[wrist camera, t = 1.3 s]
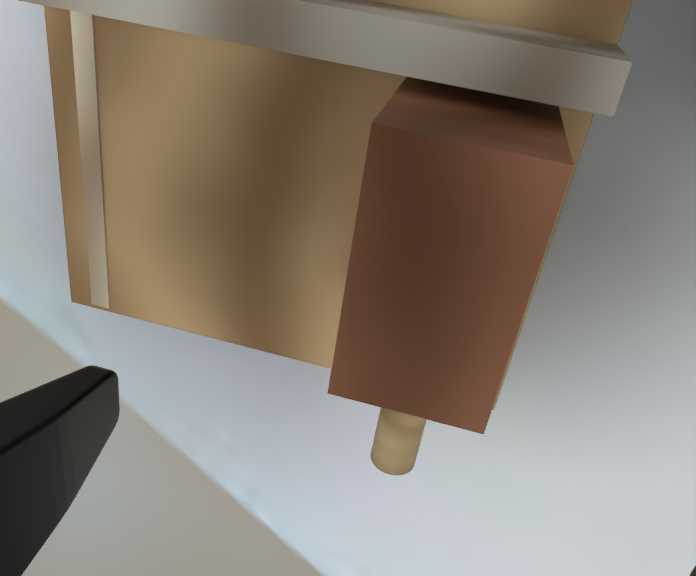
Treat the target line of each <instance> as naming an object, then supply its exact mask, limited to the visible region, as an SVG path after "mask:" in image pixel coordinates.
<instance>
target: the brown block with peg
mask: <svg viewBox="0 0 696 576" xmlns="http://www.w3.org/2000/svg"><path fill="white" fill-rule="evenodd" d="M573 166H574V164H573V160H572V156H571V152H570V148H569V144H568V140H567V137H566V133H565V129H564V125H563V121H562V117H561V113H560V109H559V106H555V105H550V104H545V103H540V102H535V101H530V100H524V99H519V98H514V97H509V96H504V95H499V94H494V93H489V92H484V91H479V90H473V89H468V88H463V87H458V86H453V85H448V84H443V83H438V82H433V81H428V80H422V79H417V78H412V77H406V78H405V80H404V81H403V82H402V84H401V85H400V86H399V88H398V89H397V90H396V92H395V93H394V94H393V96H392V97H391V98H390V99H389V101H388V102H387V103H386V105H385V106H384V107H383V109H382V110H381V111H380V113H379V114H378V115H377V117H376V118H375V119H374V121H373V122H372V123H371V129H370V135H369V141H368V148H367V154H366V160H365V166H364V172H363V178H362V185H361V191H360V197H359V203H358V209H357V216H356V222H355V228H354V234H353V240H352V246H351V253H350V259H349V265H348V271H347V277H346V284H345V290H344V296H343V302H342V308H341V314H340V321H339V327H338V333H337V339H336V345H335V352H334V358H333V364H332V370H331V376H330V382H329V389H328V393H329V394H332V395H336V396H340V397H344V398H348V399H351V400H355V401H359V402H363V403H367V404H371V405H374V406H378V407H381V410H380V414H379V419H378V423H377V428H376V432H375V437H374V442H373V446H372V451H371V460H372V462H373V464H374V465H375V466H376V467H377V468H378V469H379V470H381V471H382V472H384V473H387V474H390V475H403V474H406V473H408V472H409V471H411V470H412V468H413V467H414V463H415V460H416V456H417V452H418V449H419V445H420V441H421V438H422V434H423V430H424V426H425V423H426V419H428V420H432V421H435V422H439V423H443V424H447V425H451V426H454V427H458V428H462V429H466V430H470V431H473V432H477V433H481V434H484V431H485V428H486V425H487V422H488V419H489V416H490V413H491V410H492V407H493V404H494V401H495V399H496V396H497V393H498V390H499V387H500V384H501V381H502V378H503V375H504V372H505V369H506V366H507V363H508V360H509V357H510V354H511V351H512V348H513V345H514V342H515V339H516V336H517V333H518V330H519V327H520V324H521V321H522V318H523V315H524V312H525V309H526V306H527V303H528V300H529V297H530V294H531V291H532V288H533V285H534V282H535V279H536V276H537V274H538V271H539V268H540V265H541V262H542V259H543V256H544V253H545V250H546V247H547V244H548V241H549V238H550V235H551V232H552V229H553V226H554V223H555V220H556V217H557V214H558V211H559V208H560V205H561V202H562V199H563V196H564V193H565V190H566V187H567V184H568V181H569V178H570V175H571V172H572V169H573Z"/></svg>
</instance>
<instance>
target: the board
mask: <svg viewBox="0 0 696 576" xmlns="http://www.w3.org/2000/svg"><path fill="white" fill-rule="evenodd" d="M20 1H25V2H30V3H35V4H40V5H44V9H45V20H46V31H47V41H48V52H49V63H50V74H51V84H52V95H53V106H54V117H55V128H56V138H57V149H58V160H59V171H60V182H61V192H62V203H63V214H64V225H65V235H66V246H67V257H68V268H69V279H70V289H71V300H72V302H75V303H79V304H82V305H86V306H90V307H94V308H98V309H102V310H106V311H110V312H114V313H117V314H121V315H125V316H129V317H133V318H137V319H141V320H145V321H149V322H152V323H156V324H160V325H164V326H168V327H172V328H176V329H180V330H184V331H187V332H191V333H195V334H199V335H203V336H207V337H211V338H215V339H219V340H222V341H226V342H230V343H234V344H238V345H242V346H246V347H250V348H254V349H257V350H261V351H265V352H269V353H273V354H277V355H281V356H285V357H289V358H292V359H296V360H300V361H304V362H308V363H312V364H316V365H320V366H324V367H327V368H331V369H332V364H333V358H334V352H335V345H336V339H337V333H338V327H339V321H340V314H341V308H342V302H343V296H344V290H345V284H346V277H347V271H348V265H349V259H350V253H351V246H352V240H353V234H354V228H355V222H356V216H357V209H358V203H359V197H360V191H361V185H362V178H363V172H364V166H365V160H366V154H367V148H368V141H369V135H370V129H371V123H372V122H373V121H374V119H375V118H376V117H377V115H378V114H379V113H380V111H381V110H382V109H383V107H384V106H385V105H386V103H387V102H388V101H389V99H390V98H391V97H392V96H393V94H394V93H395V92H396V90H397V89H398V88H399V86H400V85H401V84H402V82H403V81H404V80H405V78H406V77H412V78H417V79H422V80H428V81H433V82H438V83H443V84H448V85H453V86H458V87H463V88H468V89H473V90H479V91H484V92H489V93H494V94H499V95H504V96H509V97H514V98H519V99H524V100H530V101H535V102H540V103H545V104H550V105H555V106H559V109H560V113H561V117H562V121H563V125H564V129H565V133H566V137H567V140H568V144H569V148H570V152H571V156H572V160H573V164H574V166H573V169H572V172H571V175H570V178H569V181H568V184H567V187H566V190H565V193H564V196H563V199H562V202H561V205H560V208H559V211H558V214H557V217H556V220H555V223H554V226H553V229H552V232H551V235H550V238H549V241H548V244H547V247H546V250H545V253H544V256H543V259H542V262H541V265H540V268H539V271H538V274H537V276H536V279H535V282H534V285H533V288H532V291H531V294H530V297H529V300H528V303H527V306H526V309H525V312H524V315H523V318H522V321H521V324H520V327H519V330H518V333H517V336H516V339H515V342H514V345H513V348H512V351H511V354H510V357H509V360H508V363H507V366H506V369H505V372H504V375H503V378H502V381H501V384H500V387H499V390H498V393H497V396H496V399H495V401H494V404H493V407H492V410H494V408H495V405H496V402H497V399H498V396H499V393H500V390H501V387H502V384H503V381H504V378H505V375H506V372H507V369H508V367H509V364H510V361H511V358H512V355H513V352H514V349H515V346H516V343H517V340H518V337H519V334H520V331H521V328H522V325H523V322H524V319H525V316H526V313H527V310H528V307H529V304H530V301H531V299H532V296H533V293H534V290H535V287H536V284H537V281H538V278H539V275H540V272H541V269H542V266H543V263H544V260H545V257H546V254H547V251H548V248H549V245H550V242H551V239H552V236H553V233H554V231H555V228H556V225H557V222H558V219H559V216H560V213H561V210H562V207H563V204H564V201H565V198H566V195H567V192H568V189H569V186H570V183H571V180H572V177H573V174H574V171H575V168H576V165H577V163H578V160H579V157H580V154H581V151H582V148H583V145H584V142H585V139H586V136H587V133H588V130H589V127H590V124H591V121H592V118H593V115H594V113H596V114H601V115H606V116H611V117H614V114H615V111H616V109H617V106H618V103H619V100H620V97H621V95H622V92H623V89H624V86H625V83H626V80H627V78H628V75H629V72H630V69H631V66H632V64H633V62H632V61H631V60H630V59H629V58H628V57H627V56H626V54H625V53H624V52H623V51H622V50H621V49H620V48H619V47H618V46H617V44H618V41H619V38H620V35H621V32H622V29H623V27H624V24H625V21H626V18H627V15H628V12H629V9H630V6H631V3H632V0H20Z"/></svg>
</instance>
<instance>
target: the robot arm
mask: <svg viewBox="0 0 696 576" xmlns="http://www.w3.org/2000/svg"><path fill="white" fill-rule="evenodd" d="M119 410H120V409H119V388H118V377H117V375H116V373H115V372H114V371H112V370H108V369H105V368H101V367H97V366H87V367H84V368H82V369H80V370H77V371H75V372H73V373H70V374H68V375H65V376H63V377H60V378H58V379H56V380H53V381H51V382H49V383H46V384H44V385H41V386H39V387H37V388H34V389H32V390H30V391H27V392H25V393H22V394H20V395H17V396H15V397H13V398H10V399H8V400H5V401H3V402H1V403H0V576H21V575H22V574H23V572H24V571H25V570H26V568H27V567H28V565H29V564H30V563H31V561H32V560H33V558H34V557H35V556H36V554H37V553H38V551H39V550H40V549H41V547H42V546H43V544H44V543H45V542H46V540H47V539H48V537H49V536H50V535H51V533H52V532H53V530H54V529H55V527H56V526H57V524H58V523H59V522H60V520H61V519H62V517H63V516H64V514H65V513H66V512H67V510H68V509H69V507H70V505H71V503H72V502H73V500H74V499H75V497H76V495H77V493H78V491H79V489H80V488H81V486H82V485H83V483H84V481H85V479H86V477H87V476H88V474H89V472H90V470H91V468H92V467H93V465H94V463H95V461H96V460H97V458H98V456H99V454H100V453H101V450H102V449H103V447H104V445H105V443H106V442H107V440H108V438H109V436H110V435H111V433H112V431H113V429H114V428H115V425H116V423H117V421H118V417H119ZM690 576H696V566H695V567H694V569H693V570H692V572H691V574H690Z"/></svg>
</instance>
